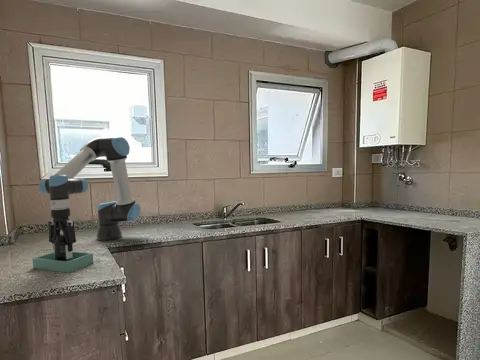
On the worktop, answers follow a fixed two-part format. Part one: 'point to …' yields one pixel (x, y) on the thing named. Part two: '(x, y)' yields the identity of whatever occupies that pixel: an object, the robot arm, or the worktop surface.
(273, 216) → the worktop surface
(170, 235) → the worktop surface
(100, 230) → the robot arm
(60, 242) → the supplement bottle
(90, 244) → the worktop surface
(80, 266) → the green tray
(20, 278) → the worktop surface
